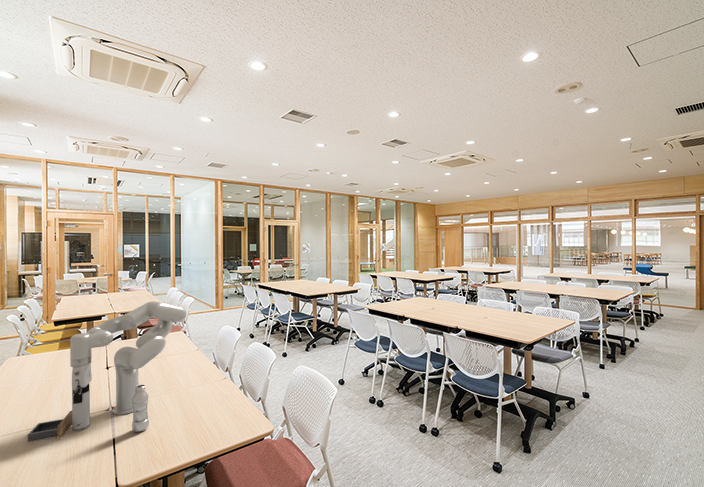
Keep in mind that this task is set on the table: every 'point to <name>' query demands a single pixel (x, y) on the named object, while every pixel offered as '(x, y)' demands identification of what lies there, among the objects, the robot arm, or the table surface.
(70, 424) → the board
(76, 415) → the travel mug
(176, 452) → the table surface
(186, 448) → the table surface
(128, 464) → the table surface
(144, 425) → the plastic bottle
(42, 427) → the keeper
